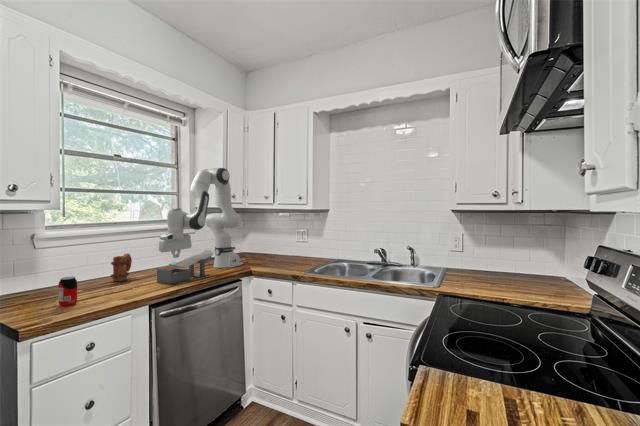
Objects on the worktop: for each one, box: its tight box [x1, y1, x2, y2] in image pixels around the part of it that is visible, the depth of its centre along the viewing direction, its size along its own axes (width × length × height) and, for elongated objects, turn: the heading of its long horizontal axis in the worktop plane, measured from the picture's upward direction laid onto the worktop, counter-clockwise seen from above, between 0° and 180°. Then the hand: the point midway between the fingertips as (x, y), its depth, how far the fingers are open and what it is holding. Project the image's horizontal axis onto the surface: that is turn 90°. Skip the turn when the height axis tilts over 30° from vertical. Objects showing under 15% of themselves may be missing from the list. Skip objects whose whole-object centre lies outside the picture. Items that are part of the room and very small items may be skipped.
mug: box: [110, 253, 133, 282], centre depth 187 cm, size 15×8×15 cm, turn 179°
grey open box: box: [156, 267, 191, 286], centre depth 182 cm, size 13×13×8 cm
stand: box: [188, 259, 211, 279], centre depth 196 cm, size 8×14×11 cm, turn 60°
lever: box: [168, 249, 214, 269], centre depth 197 cm, size 22×16×6 cm
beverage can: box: [58, 276, 78, 307], centre depth 138 cm, size 6×6×12 cm
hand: (176, 257), depth 192 cm, fingers closed
